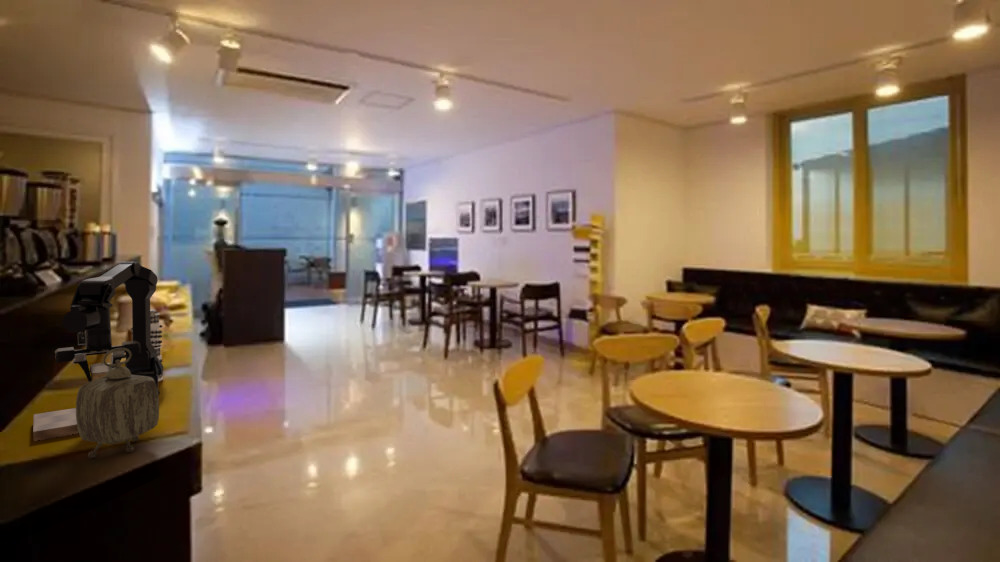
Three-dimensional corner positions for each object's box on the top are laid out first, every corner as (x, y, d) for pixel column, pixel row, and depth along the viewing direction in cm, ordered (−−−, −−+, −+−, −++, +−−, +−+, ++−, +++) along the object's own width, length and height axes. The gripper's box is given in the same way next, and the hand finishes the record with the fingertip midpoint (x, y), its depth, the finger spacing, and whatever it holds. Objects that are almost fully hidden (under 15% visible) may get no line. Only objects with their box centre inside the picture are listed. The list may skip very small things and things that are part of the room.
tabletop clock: (136, 438, 139) (132, 341, 137) (164, 442, 136) (160, 343, 134) (78, 460, 125) (72, 353, 123) (108, 466, 122) (102, 356, 120)
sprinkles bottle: (112, 412, 151) (109, 365, 150) (91, 415, 148) (89, 367, 147) (113, 408, 155) (110, 361, 153) (93, 410, 152) (90, 363, 151)
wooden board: (123, 408, 161) (122, 400, 161) (130, 424, 149) (129, 415, 148) (34, 423, 149) (33, 414, 148) (33, 441, 136) (33, 431, 136)
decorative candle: (142, 377, 196) (139, 308, 194) (169, 376, 197) (166, 308, 195) (127, 384, 187) (124, 311, 185) (156, 383, 188) (153, 311, 186)
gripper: (134, 318, 161) (137, 370, 163) (53, 325, 149) (56, 381, 151) (140, 324, 153) (142, 378, 154) (54, 331, 141) (57, 390, 142)
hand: (100, 381), depth 151 cm, fingers closed on sprinkles bottle, 4 cm apart
